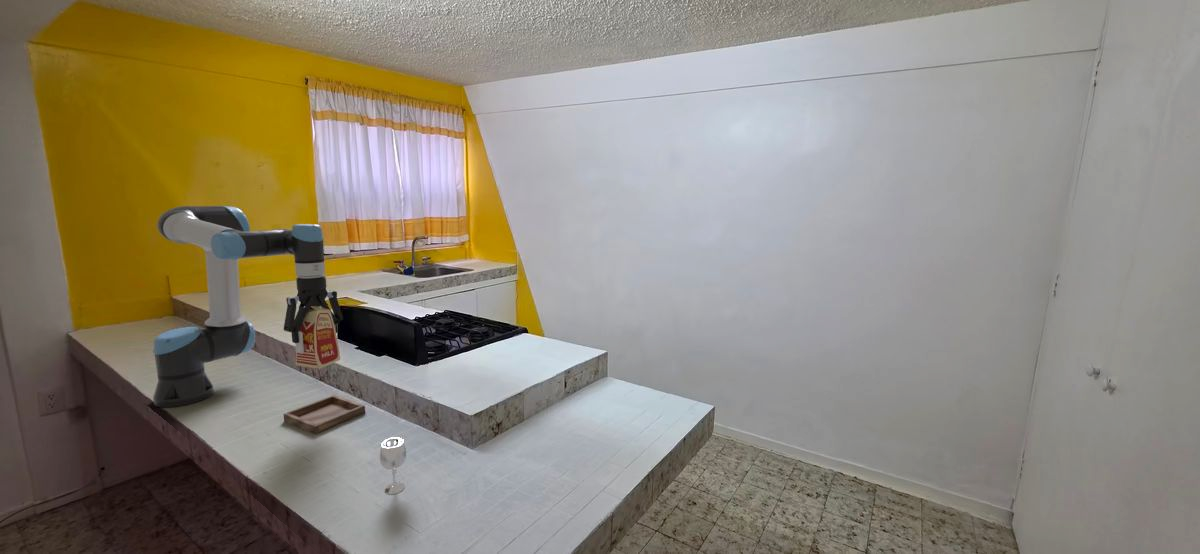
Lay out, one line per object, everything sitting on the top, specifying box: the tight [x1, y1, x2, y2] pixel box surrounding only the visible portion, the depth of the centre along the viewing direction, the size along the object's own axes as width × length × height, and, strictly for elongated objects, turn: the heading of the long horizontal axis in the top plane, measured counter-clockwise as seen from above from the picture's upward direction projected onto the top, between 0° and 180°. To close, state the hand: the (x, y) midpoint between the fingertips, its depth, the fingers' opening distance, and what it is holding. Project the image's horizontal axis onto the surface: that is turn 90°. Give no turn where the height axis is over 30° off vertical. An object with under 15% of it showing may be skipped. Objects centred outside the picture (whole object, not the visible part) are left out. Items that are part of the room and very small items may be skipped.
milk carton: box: [295, 306, 341, 370], centre depth 139 cm, size 9×9×20 cm
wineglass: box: [379, 437, 407, 495], centre depth 109 cm, size 6×6×12 cm
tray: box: [282, 394, 366, 435], centre depth 144 cm, size 16×16×2 cm
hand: (316, 348), depth 140 cm, fingers closed on milk carton, 9 cm apart
